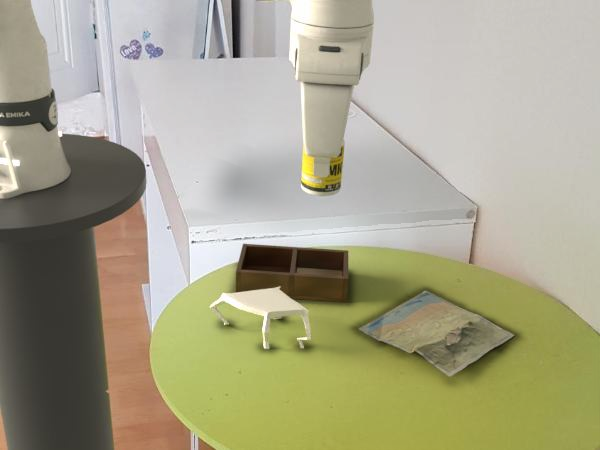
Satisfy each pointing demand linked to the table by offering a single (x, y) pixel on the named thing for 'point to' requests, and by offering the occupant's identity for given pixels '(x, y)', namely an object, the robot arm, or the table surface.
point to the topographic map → (437, 332)
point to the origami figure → (265, 308)
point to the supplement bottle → (321, 184)
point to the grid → (294, 271)
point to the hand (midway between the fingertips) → (322, 164)
